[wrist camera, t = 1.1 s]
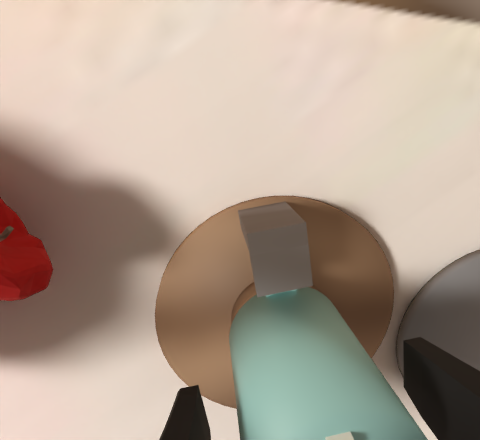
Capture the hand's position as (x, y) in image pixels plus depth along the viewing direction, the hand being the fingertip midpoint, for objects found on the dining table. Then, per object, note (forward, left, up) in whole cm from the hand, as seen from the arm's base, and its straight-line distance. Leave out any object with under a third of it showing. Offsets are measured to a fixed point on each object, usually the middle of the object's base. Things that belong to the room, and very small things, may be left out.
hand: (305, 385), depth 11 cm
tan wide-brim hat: (0, 0, -5) cm, 5 cm away
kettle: (0, 0, -3) cm, 3 cm away
